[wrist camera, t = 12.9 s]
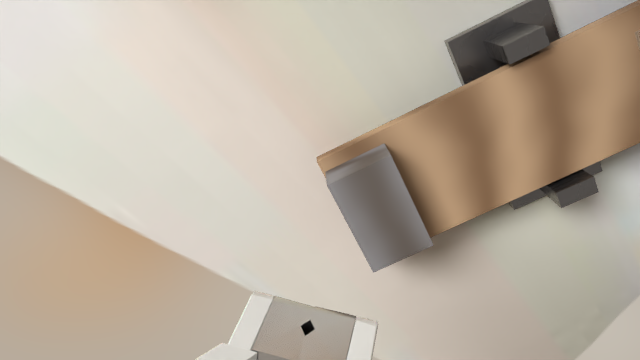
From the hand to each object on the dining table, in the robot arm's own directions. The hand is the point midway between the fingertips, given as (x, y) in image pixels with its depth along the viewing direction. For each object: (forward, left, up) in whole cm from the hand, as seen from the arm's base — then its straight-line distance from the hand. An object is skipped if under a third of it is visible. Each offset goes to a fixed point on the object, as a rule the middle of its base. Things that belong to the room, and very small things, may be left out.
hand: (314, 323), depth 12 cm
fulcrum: (-4, +18, -32) cm, 37 cm away
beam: (-4, +18, -28) cm, 33 cm away
